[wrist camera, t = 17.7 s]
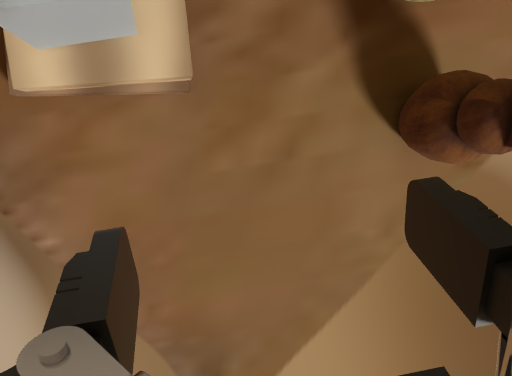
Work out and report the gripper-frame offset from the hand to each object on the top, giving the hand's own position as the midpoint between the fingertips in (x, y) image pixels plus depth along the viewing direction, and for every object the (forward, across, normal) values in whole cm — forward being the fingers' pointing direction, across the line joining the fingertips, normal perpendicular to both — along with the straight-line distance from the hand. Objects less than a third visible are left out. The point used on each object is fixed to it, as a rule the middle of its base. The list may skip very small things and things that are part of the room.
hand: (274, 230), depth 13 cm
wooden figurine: (+24, +17, -7) cm, 31 cm away
